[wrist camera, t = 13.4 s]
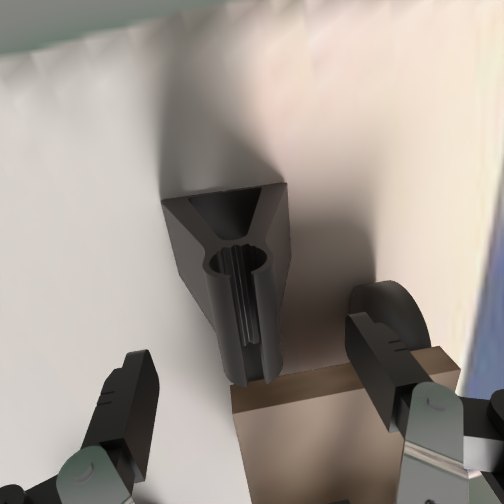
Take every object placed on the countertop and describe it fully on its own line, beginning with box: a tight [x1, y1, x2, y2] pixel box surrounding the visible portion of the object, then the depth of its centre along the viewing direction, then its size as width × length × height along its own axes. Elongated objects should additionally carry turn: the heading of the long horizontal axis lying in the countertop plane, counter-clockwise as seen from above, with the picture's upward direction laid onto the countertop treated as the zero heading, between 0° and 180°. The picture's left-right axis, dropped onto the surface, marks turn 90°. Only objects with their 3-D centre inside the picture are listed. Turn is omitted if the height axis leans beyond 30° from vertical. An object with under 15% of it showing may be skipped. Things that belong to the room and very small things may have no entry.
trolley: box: [230, 280, 461, 504], centre depth 22 cm, size 14×23×22 cm, turn 7°
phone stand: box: [161, 183, 291, 388], centre depth 18 cm, size 9×6×12 cm, turn 96°
